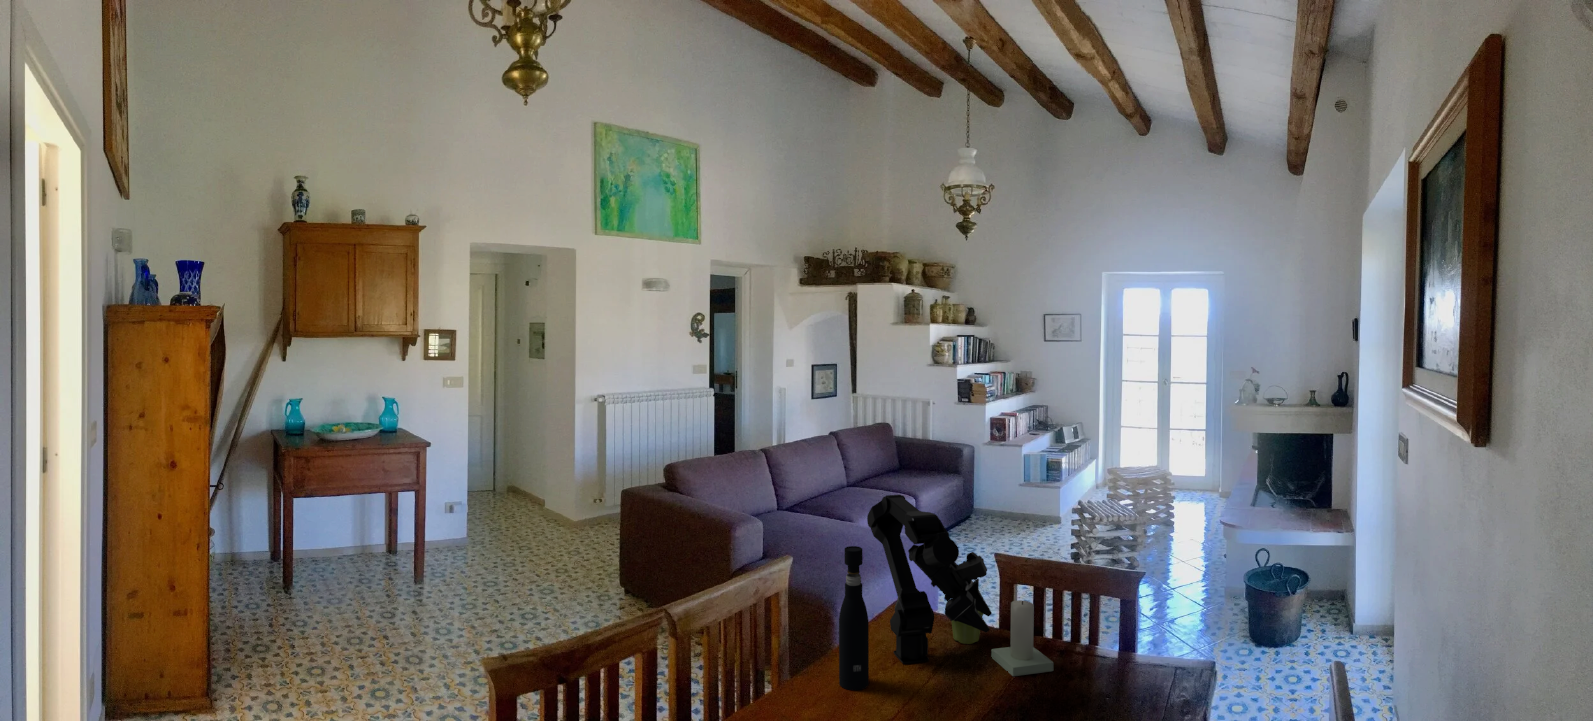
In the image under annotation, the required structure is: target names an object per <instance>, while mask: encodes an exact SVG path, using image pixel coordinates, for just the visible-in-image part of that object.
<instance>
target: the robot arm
mask: <svg viewBox="0 0 1593 721" xmlns="http://www.w3.org/2000/svg"><path fill="white" fill-rule="evenodd" d="M866 519H867V526H868V527H869V528H870V530H871V532H872V536H873V537H874V538H875V539H876V540H877V541H878V542H879V543H880V544H881V545H882V547H883V551H884V555H885V557H886V560H887V561H886V562H887V565H888V568H889V570H890V575H891V578H892V582H893V585H894V588H895V591H896V596H897V598H896V599H897V600H896V603H895V606H894V613H893V615H892V616H891V618H890V620H889V624H890V630H891V631H892V632H893V633H894V635H895V642H896V643H895V645H896V646H895V650H893V654H894V655H895V656H896V658H897V659H898V660H899V661H900V663H901V664H902V665H903V664H904V665H905V664H906V665H907V664H915V663H923V662H929V660H930V659H929V657H928V654H929V637H928V636H927V634H932V633H933V628H934V622H935V613H934V610H933V608H932V605H931V602H930V601H929V598H928V595H927V594H928V593H927V592H926V591H924V590H923V591H920V590H918V588H917V585H916V583H915V582H916V581H915V580H914V576H913V573H912V569H911V566H910V562H913V563H914V564H915V565H916V566H917V567H918V568H919V569H920V570H921V571H922V572H923V573H924V575H925V576H927V578H928V579H929V580H930V581H931V582H930V585H931V586H932V587H933V588H935V587H936V588H938V589H939V590H940V591H941V592H942V594H943V595H944V600H945V601H946V603H945V607H944V615H945V616H946V617H947V618H948V619H949V620H950V622H952V621H953V620H954V621H955V622H956V621H958V622H961V623H964V624H967V625H969V626H972V627H974V628H976V629H979V630H980V632H984V633H988V632H989V631H990V627H989V625H988V624H987V622H986V620H984V618H983V616H982V617H981V615H980V614H979V613H978V611H979V612H981V613H983V615H985V616H987V617H990V616H991V615H992V610H991V609H990V607H989V605H988V604H987V602H986V600H985V598H984V597H983V595H982V593H981V591H980V589H979V587H980V586H979V585H980V580H979V578H980V579H982V578H984V577H985V576H987V575H988V572H987V571H988V568H987V566H986V563H985V560H984V558H982V555H978V554H976V552H974V551H971V552H969V553H967V554H966V559H965V560H966V561H965V560H964V561H963V562H962V563H959V564H958V563H956V561H957V560H958V559H959V555H960V550H959V547H958V546H957V544H956V542H955V541H954V540H953V539H951V538H950V533H949V531H948V529H947V528H946V527H945V526H944V524H943V523H942V520H941V519H940V517H939V516H938V515H937V514H936V513H933V512H928V511H921V510H919V509H918V508H917V507H916V506H914V505H913V504H912V503H911V502H910V501H908V500H907V499H906V498H905V496H904V494H903V495H901V494H888V495H887V494H886V495H885V496H883V497H882V499H881V500H880V501H878V502H877V503H876V504H874V505H873V506H871V508H870V510H869V511H868V513H867V518H866ZM903 528H904V535H905V536H906V537H907V538H908V540H909V541H910V542H911V543H912V544H913V545H911V547H910V548H909V549H908V550H907V552H908V557H907V553H906V551H905V550H906V549H905V546H904V544H903V541H902V537H901V533H902V530H903ZM908 560H909V561H910V562H909V561H908ZM973 580H974V581H973ZM977 610H978V611H977Z"/></svg>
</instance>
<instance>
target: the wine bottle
mask: <svg viewBox="0 0 1593 721" xmlns="http://www.w3.org/2000/svg"><path fill="white" fill-rule="evenodd" d="M844 564H845V565H846V566H847V570H846V571H847V572H846V573H847V574H846V576H845V579H846V580H845V583H844V598H843V600H842V604H841V607H840V610H839V616H838V646H839V647H838V670H839V671H838V672H839V673H838V681H839V682H838V683H839V686H840V687H841V688H842V689H845V690H848V691H861V690H864V689H866V688H867V687H868V686H869V682H870V681H869V680H870V678H869V676H870V674H869V672H870V671H869V669H870V668H869V667H870V666H869V665H870V664H869V661H870V660H869V658H870V657H869V655H870V654H869V647H870V646H869V643H870V642H869V640H870V639H869V636H870V635H869V632H870V631H869V622H870V621H869V615H868V611H867V605H866V603H865V600H864V597H863V583H862V577H861V573H860V571H861V570H860V566H861V565H862V564H863V548H862V547H860V546H856V545H851V546H846V547H844Z"/></svg>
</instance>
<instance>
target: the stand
mask: <svg viewBox="0 0 1593 721" xmlns="http://www.w3.org/2000/svg"><path fill="white" fill-rule="evenodd" d="M1010 649H1011V646H1008V647H999V648H991V657H992V658H991V657H990V658H991V659H993V660H994V661H995V662H996V664H998V665H999V666H1000V667H1002V669H1004V670H1005V671H1006V672H1007V671H1008V673H1009V675H1011V676H1012V677H1018V676H1025V675H1026V676H1027V675H1033V674H1040V673H1042V674H1043V673H1048V672H1049V673H1050V672H1054V661H1052V660H1051V659H1050V658H1049V657H1047V656H1046V655H1045V654H1044V653H1042V652H1041V651H1039V650H1038V649H1037V648H1036V647H1034V646H1033V658H1032V659H1031V660H1017V659H1015V658H1013V657H1011V655H1010Z"/></svg>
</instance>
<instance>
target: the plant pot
mask: <svg viewBox="0 0 1593 721" xmlns="http://www.w3.org/2000/svg"><path fill="white" fill-rule="evenodd" d="M977 611H978V610H977ZM978 613H979V614H980V615H981V617H982V618H983V616H984V614H983V613H981V612H979V611H978ZM951 629H952V637H953V639H954V641H956V642H959V643H960V644H965V645H966V644H967V645H970V644H974V643H976V642H977V643H978V642H979V641H980V634H981V630H979V629H976V628H974V627H972V626H969V625H967V624H964V623H961V622H958V621H956V622H955V621H954V620H953V621H951Z"/></svg>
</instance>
